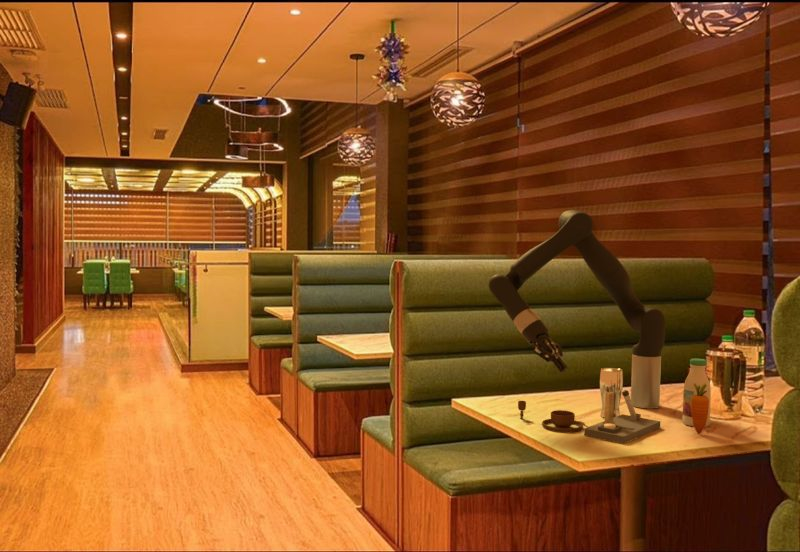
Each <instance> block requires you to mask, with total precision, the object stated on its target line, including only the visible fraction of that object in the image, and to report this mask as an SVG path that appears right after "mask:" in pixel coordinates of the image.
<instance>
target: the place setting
mask: <svg viewBox="0 0 800 552" xmlns="http://www.w3.org/2000/svg"><path fill="white" fill-rule="evenodd" d="M517 408H518V410H519V411H520V414H519V416H520V417H519V419H520V420H524V411H525V410H526V409H527V401H525V400H518V401H517ZM575 415H576V414H575V413H574V412H573V411H570V410H569V411H568V410H561V409H560V410H559V409H558V410H552V411H550V418H547V419H544V420H543V421H541V425H542V427H543V428H544V429H545V430H548V431H552V432H557V433H558V432H559V433H576V432H580V431H581V430H583V427H585V428H587V427H589V426H588V425H586V423H585V422H584V421H581V420H576V418H575V417H576V416H575ZM550 424H553V426H551V425H550ZM527 425H528V426H530V425H532V424H531V423H530V422H529V423H527ZM571 426H575V427H572V428H570V427H571Z"/></svg>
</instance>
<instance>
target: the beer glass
mask: <svg viewBox="0 0 800 552" xmlns="http://www.w3.org/2000/svg"><path fill="white" fill-rule="evenodd" d="M623 373H624V372H623V369H621V368H615V367H603V368H600V375H599V389H600V396H601V397H600V399H601V409H600V417H601V418H602V417H604V418H603V419H605V394H606V393H609V392H613V393H614V413H613V418H614V417H617V416H620V415H621V411H620V405H621V404H620V403H621V397H622V392H623V387H624V386H623V385H624V374H623Z"/></svg>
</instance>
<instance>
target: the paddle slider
mask: <svg viewBox="0 0 800 552" xmlns="http://www.w3.org/2000/svg"><path fill="white" fill-rule="evenodd" d="M613 413H614V393H613V392H609V393H606V394H605V418H604V422H603V421H602V422H603V424H607V423H609V424H615V422H614V421H613Z"/></svg>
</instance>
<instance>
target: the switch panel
mask: <svg viewBox="0 0 800 552" xmlns="http://www.w3.org/2000/svg"><path fill="white" fill-rule="evenodd" d="M636 415H637V416H635V415H630V414H629V415H628V414H620V416H617V417H614V418H613V421H614V422H615V425H616V428H614V429H610V428H605V427H604V424H603V422H604V421H605V420H604V421H601V422H598V423H596V424H592V425H589V426H588V427H584V429H583V431H584V432H583V436H585V437H591V438H595V439H599V438H600V439H599V440H603V439H605V440H604V441H608V440H610V442H613V441H614V443H618V442H619V443H618V444H623V445H624V444H627V443H629V442H631V441H634V440H635V438H636V439H638V438H640V437H642V435H643V436H645V435H647V434H650V433H651V431H652V432H654V431H656V429H657V430H659V429H661V420H657V419H650V418H644V417H641V416H642V415H641V413H637V412H636ZM649 432H650V433H649ZM633 439H634V440H633ZM630 440H631V441H630ZM628 441H629V442H628Z"/></svg>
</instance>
